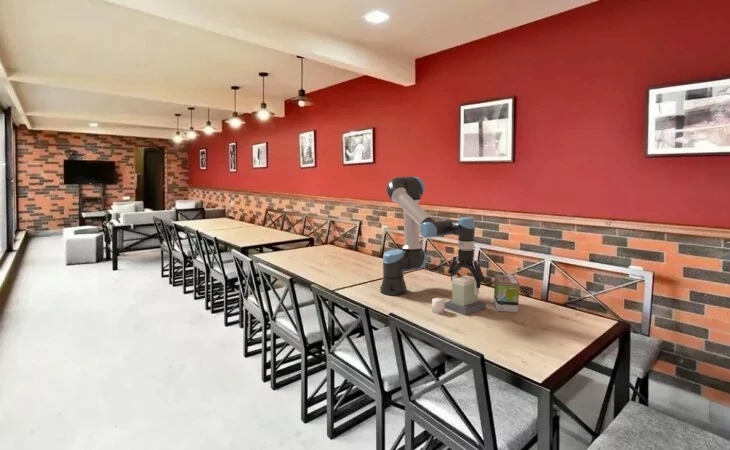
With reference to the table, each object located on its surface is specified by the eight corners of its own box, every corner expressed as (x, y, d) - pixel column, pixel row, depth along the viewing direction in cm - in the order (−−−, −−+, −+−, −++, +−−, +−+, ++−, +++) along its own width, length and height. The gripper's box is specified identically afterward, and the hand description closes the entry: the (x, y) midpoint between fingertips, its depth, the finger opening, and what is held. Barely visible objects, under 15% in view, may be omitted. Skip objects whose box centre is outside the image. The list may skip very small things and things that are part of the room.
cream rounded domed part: (429, 311, 194) (429, 299, 193) (437, 308, 197) (437, 297, 197) (438, 314, 189) (439, 302, 188) (447, 311, 193) (447, 300, 192)
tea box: (518, 312, 191) (520, 282, 189) (496, 311, 193) (498, 281, 191) (513, 302, 205) (514, 274, 203) (493, 301, 207) (494, 273, 205)
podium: (444, 307, 198) (444, 302, 198) (464, 301, 208) (464, 295, 207) (465, 315, 188) (465, 309, 188) (485, 307, 198) (485, 301, 197)
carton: (452, 302, 197) (452, 279, 195) (466, 298, 204) (466, 275, 202) (463, 306, 191) (463, 282, 190) (477, 301, 198) (478, 278, 196)
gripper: (441, 246, 201) (440, 286, 204) (483, 254, 182) (481, 298, 185) (451, 244, 206) (450, 284, 209) (492, 251, 186) (491, 295, 189)
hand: (465, 291), depth 197 cm, fingers open, 13 cm apart
